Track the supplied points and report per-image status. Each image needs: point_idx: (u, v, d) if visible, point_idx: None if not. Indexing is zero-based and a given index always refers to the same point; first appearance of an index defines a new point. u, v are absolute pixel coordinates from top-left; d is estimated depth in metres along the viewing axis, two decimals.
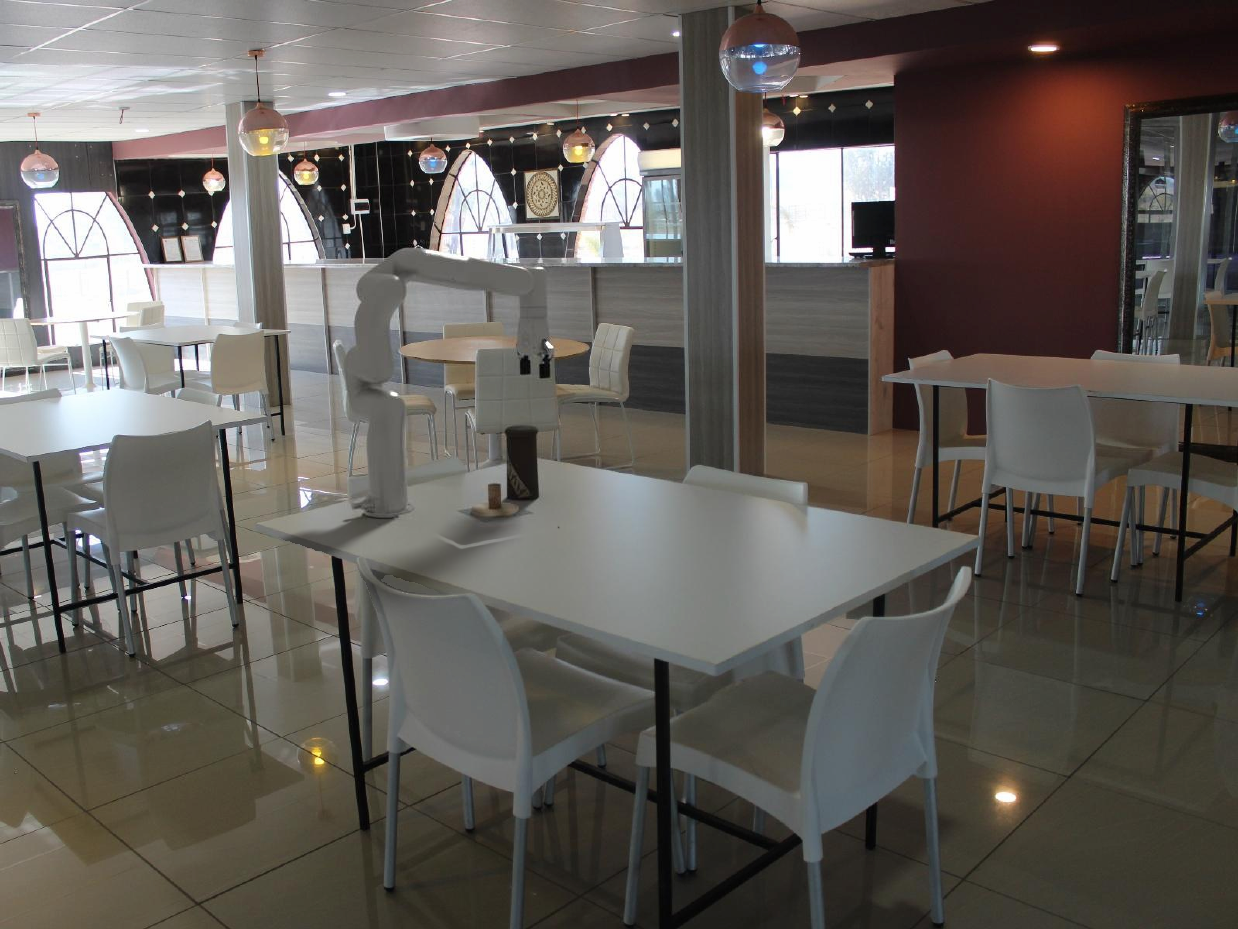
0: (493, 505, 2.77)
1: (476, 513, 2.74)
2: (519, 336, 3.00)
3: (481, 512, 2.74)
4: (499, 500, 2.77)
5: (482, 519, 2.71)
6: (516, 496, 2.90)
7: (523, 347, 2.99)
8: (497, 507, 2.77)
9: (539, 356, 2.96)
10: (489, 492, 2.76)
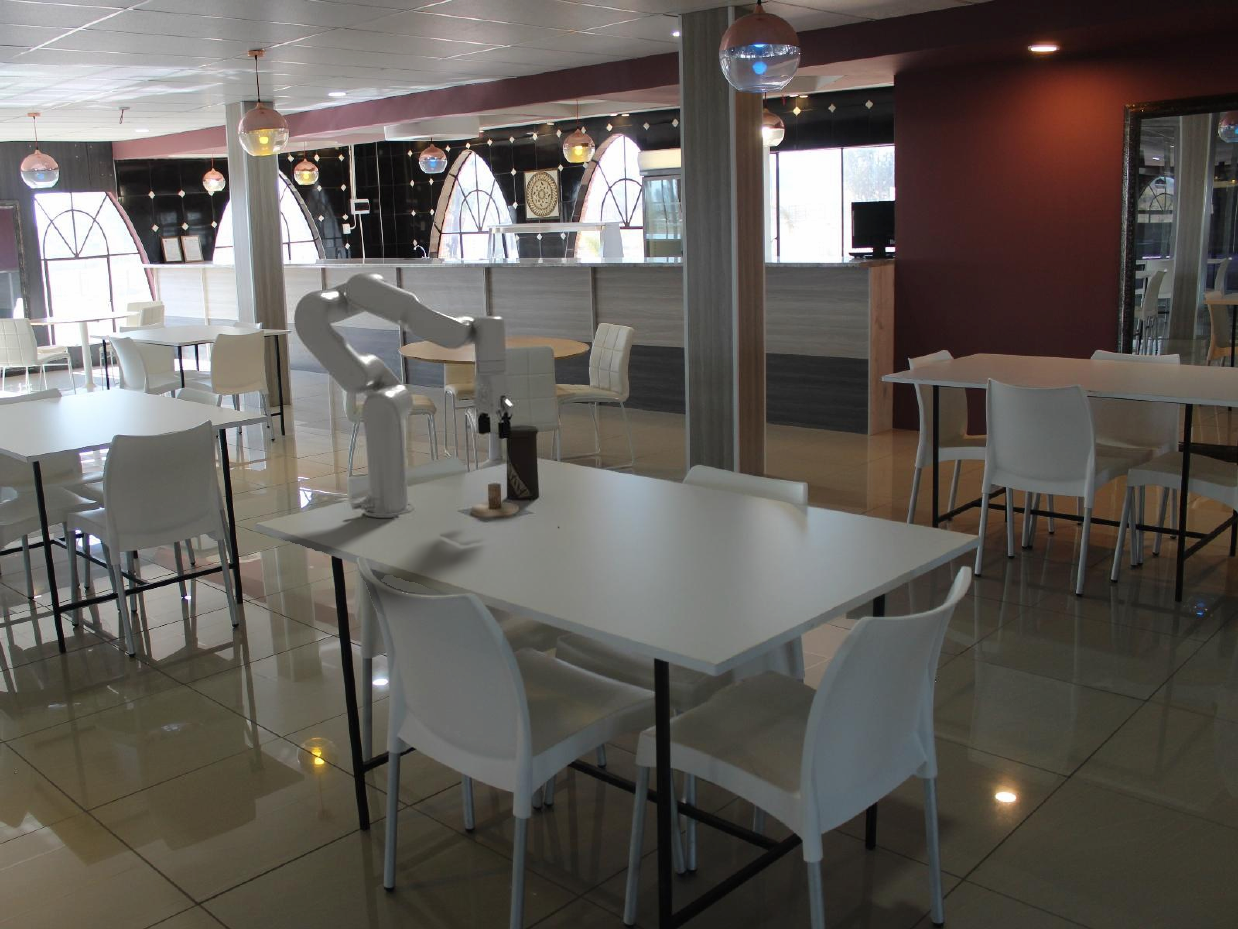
0: (493, 505, 2.77)
1: (476, 513, 2.74)
2: (476, 392, 2.73)
3: (481, 512, 2.74)
4: (499, 500, 2.77)
5: (482, 519, 2.71)
6: (516, 496, 2.90)
7: (481, 404, 2.72)
8: (497, 507, 2.77)
9: (498, 414, 2.69)
10: (489, 492, 2.76)
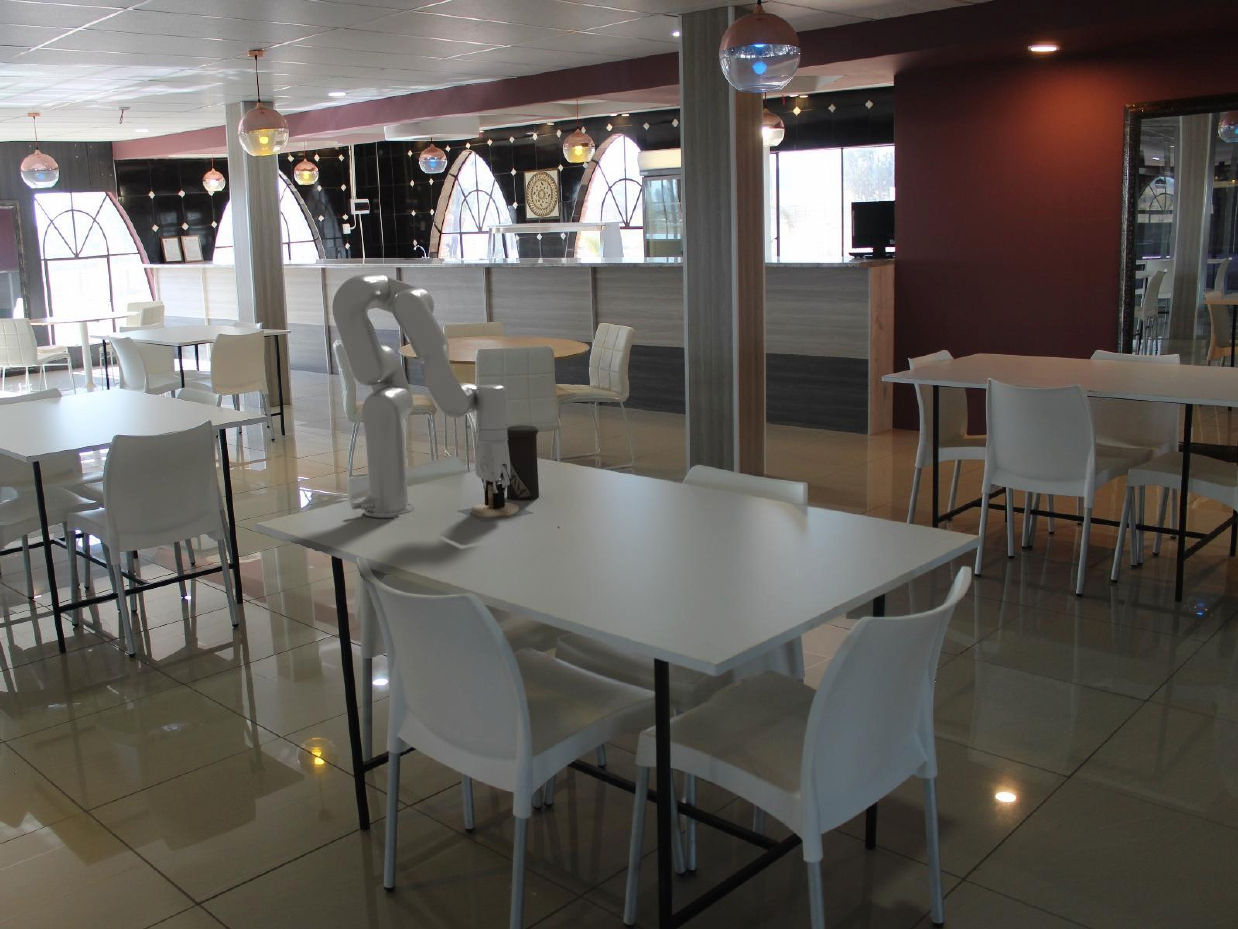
0: None
1: (476, 513, 2.74)
2: (477, 458, 2.77)
3: (481, 512, 2.74)
4: None
5: (482, 519, 2.71)
6: (516, 496, 2.90)
7: (481, 471, 2.75)
8: None
9: (494, 484, 2.74)
10: (489, 492, 2.76)
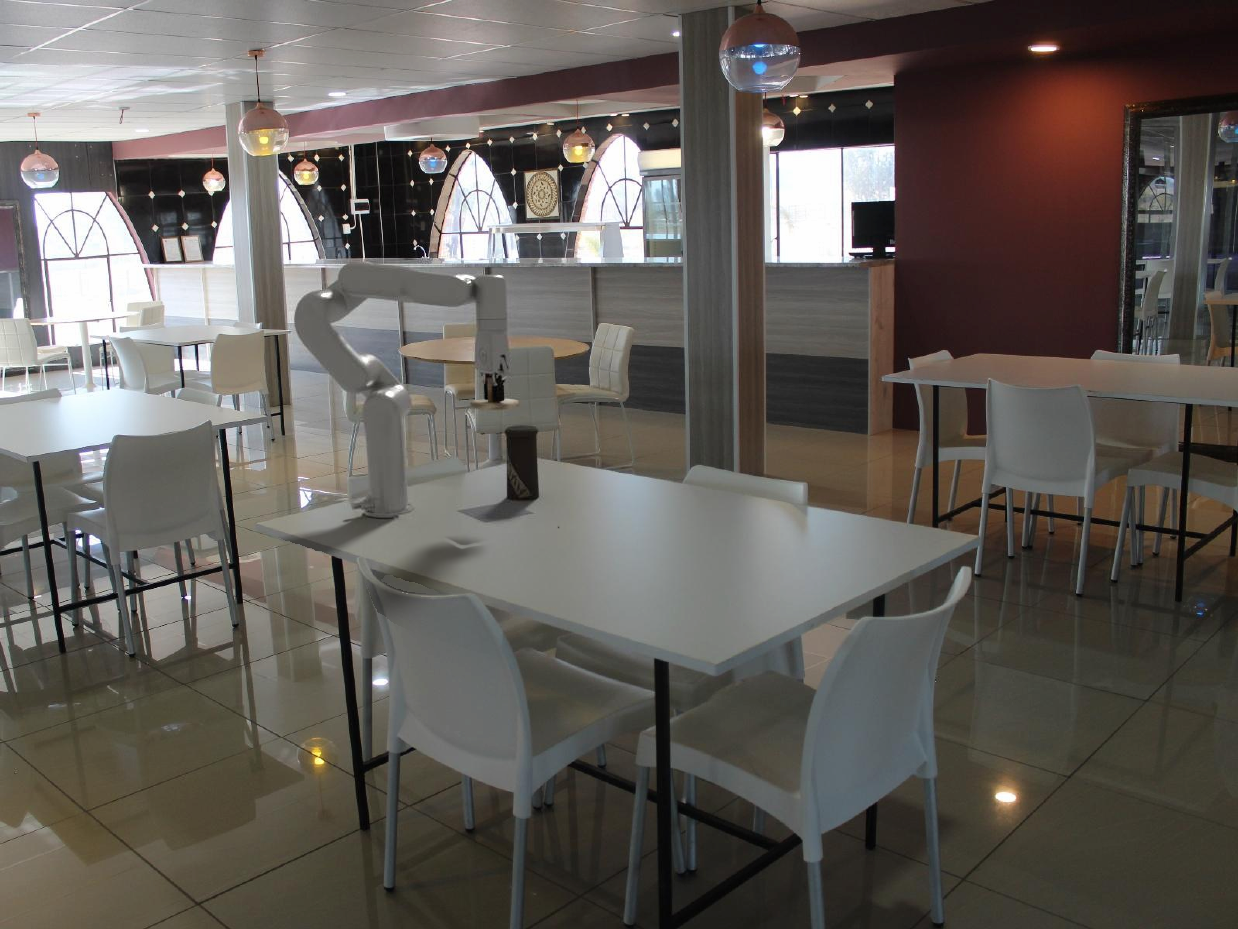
0: None
1: (475, 405, 2.70)
2: (476, 351, 2.72)
3: (480, 404, 2.70)
4: None
5: (482, 519, 2.71)
6: (516, 496, 2.90)
7: (480, 363, 2.71)
8: None
9: (493, 376, 2.70)
10: (488, 385, 2.72)
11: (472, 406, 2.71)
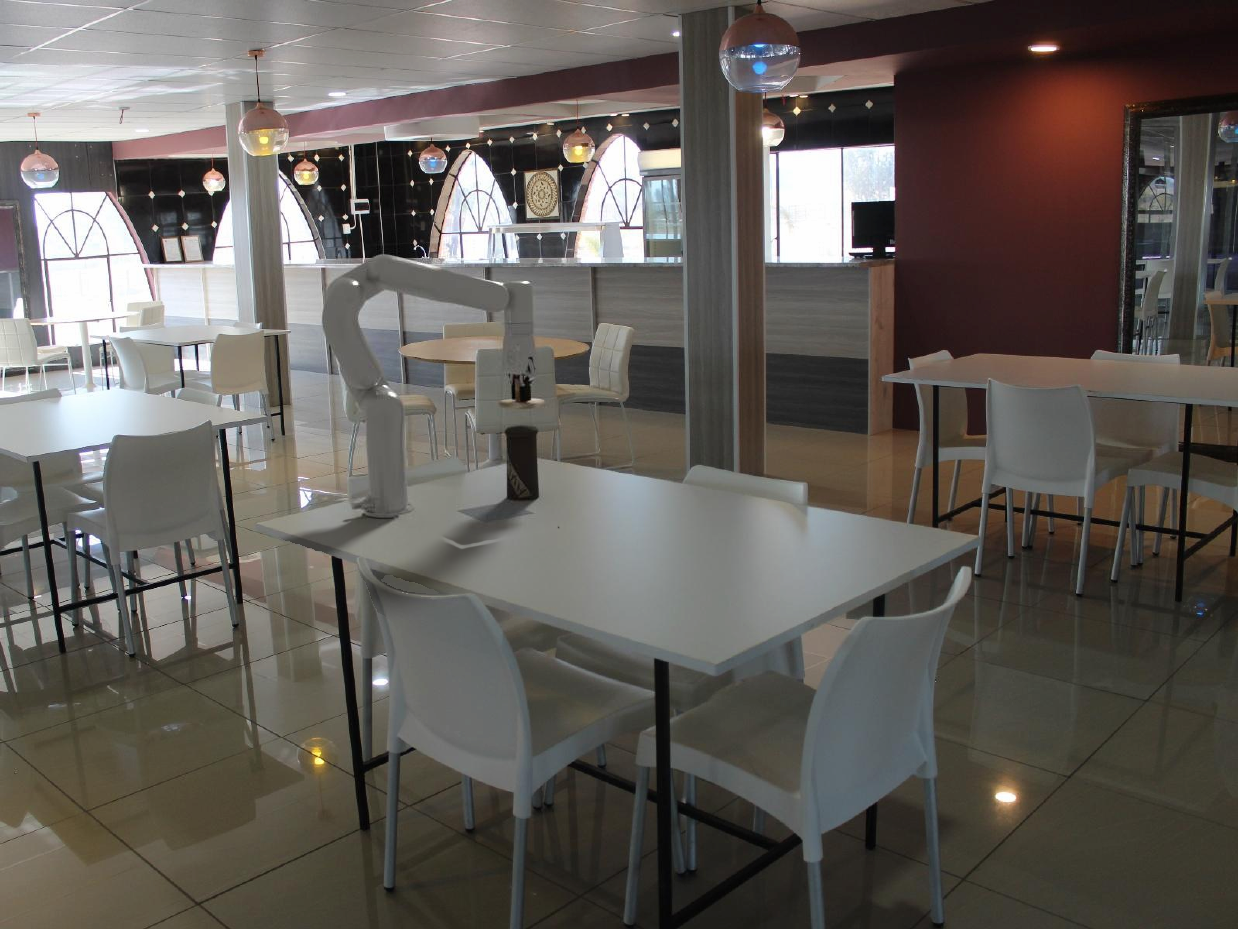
0: (519, 398, 2.87)
1: (504, 405, 2.84)
2: (504, 353, 2.87)
3: (509, 404, 2.84)
4: None
5: (482, 519, 2.71)
6: (516, 496, 2.90)
7: (508, 365, 2.86)
8: None
9: (521, 377, 2.84)
10: (516, 385, 2.87)
11: (501, 405, 2.86)
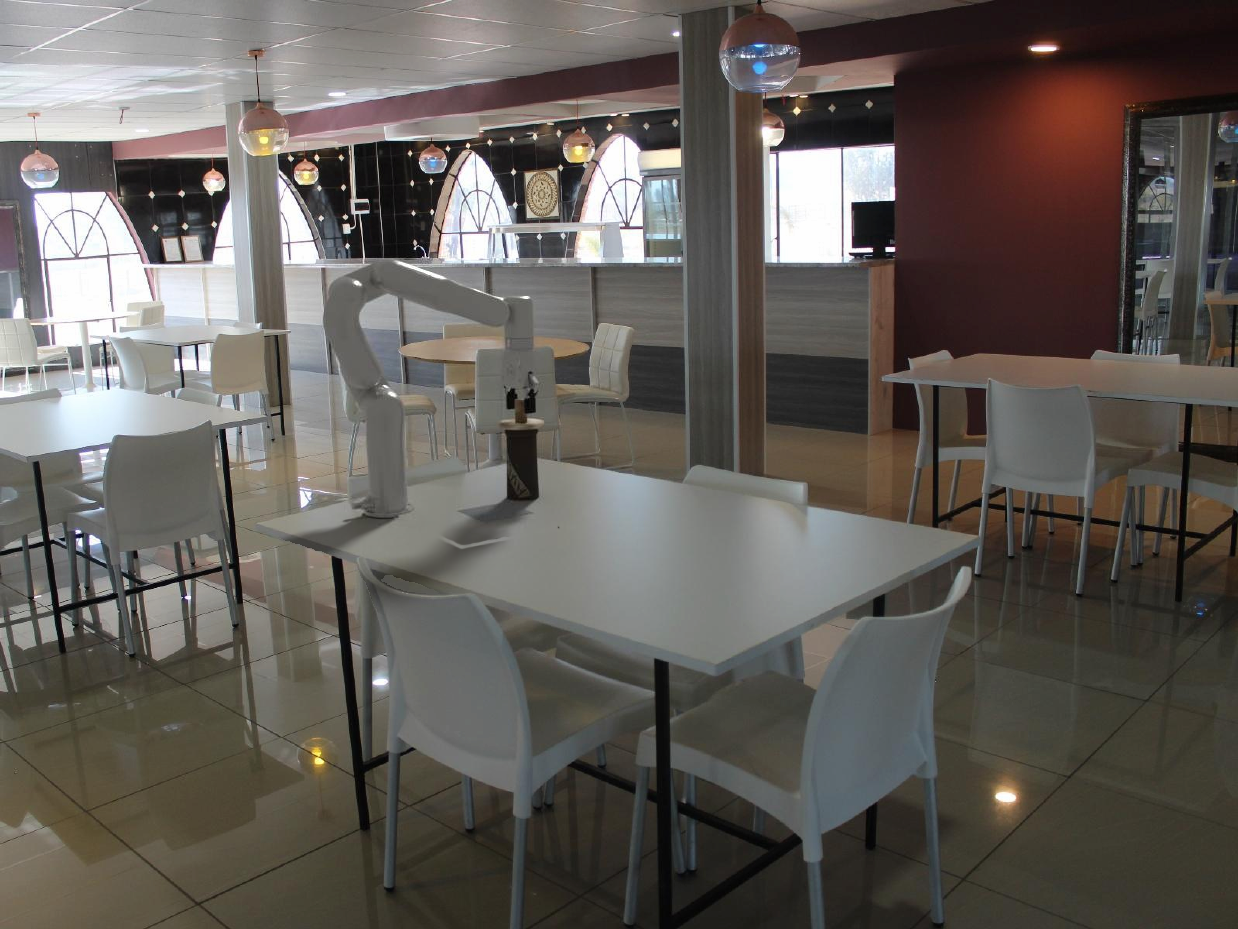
0: (519, 419, 2.88)
1: (504, 426, 2.85)
2: (504, 368, 2.88)
3: (508, 425, 2.85)
4: (525, 414, 2.88)
5: (482, 519, 2.71)
6: (516, 496, 2.90)
7: (508, 379, 2.86)
8: (523, 421, 2.88)
9: (524, 390, 2.84)
10: (516, 406, 2.88)
11: (500, 426, 2.87)
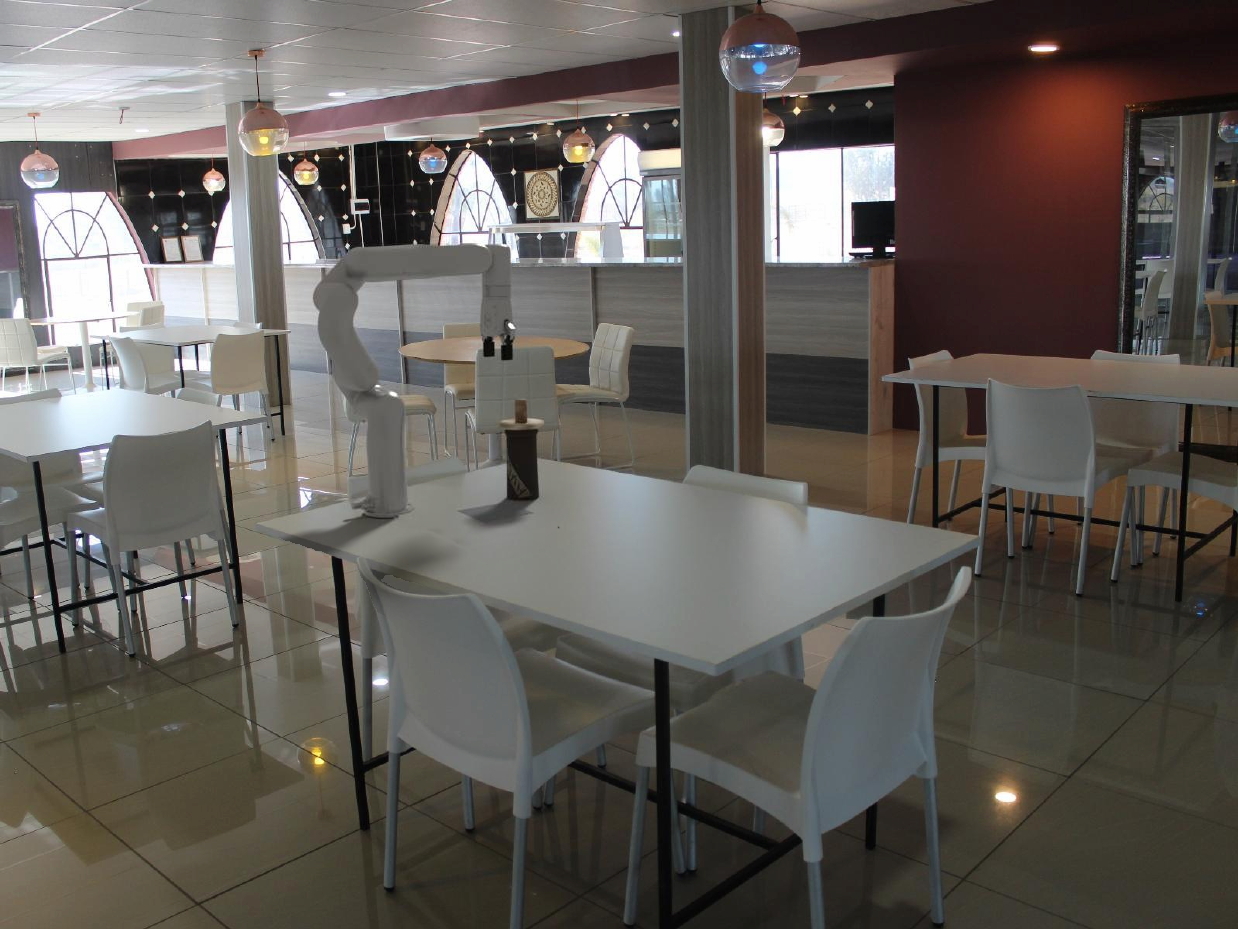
0: (519, 419, 2.88)
1: (504, 426, 2.85)
2: (482, 316, 2.88)
3: (508, 425, 2.85)
4: (525, 414, 2.88)
5: (482, 519, 2.71)
6: (516, 496, 2.90)
7: (485, 328, 2.87)
8: (523, 421, 2.88)
9: (501, 337, 2.84)
10: (516, 406, 2.88)
11: (500, 426, 2.87)
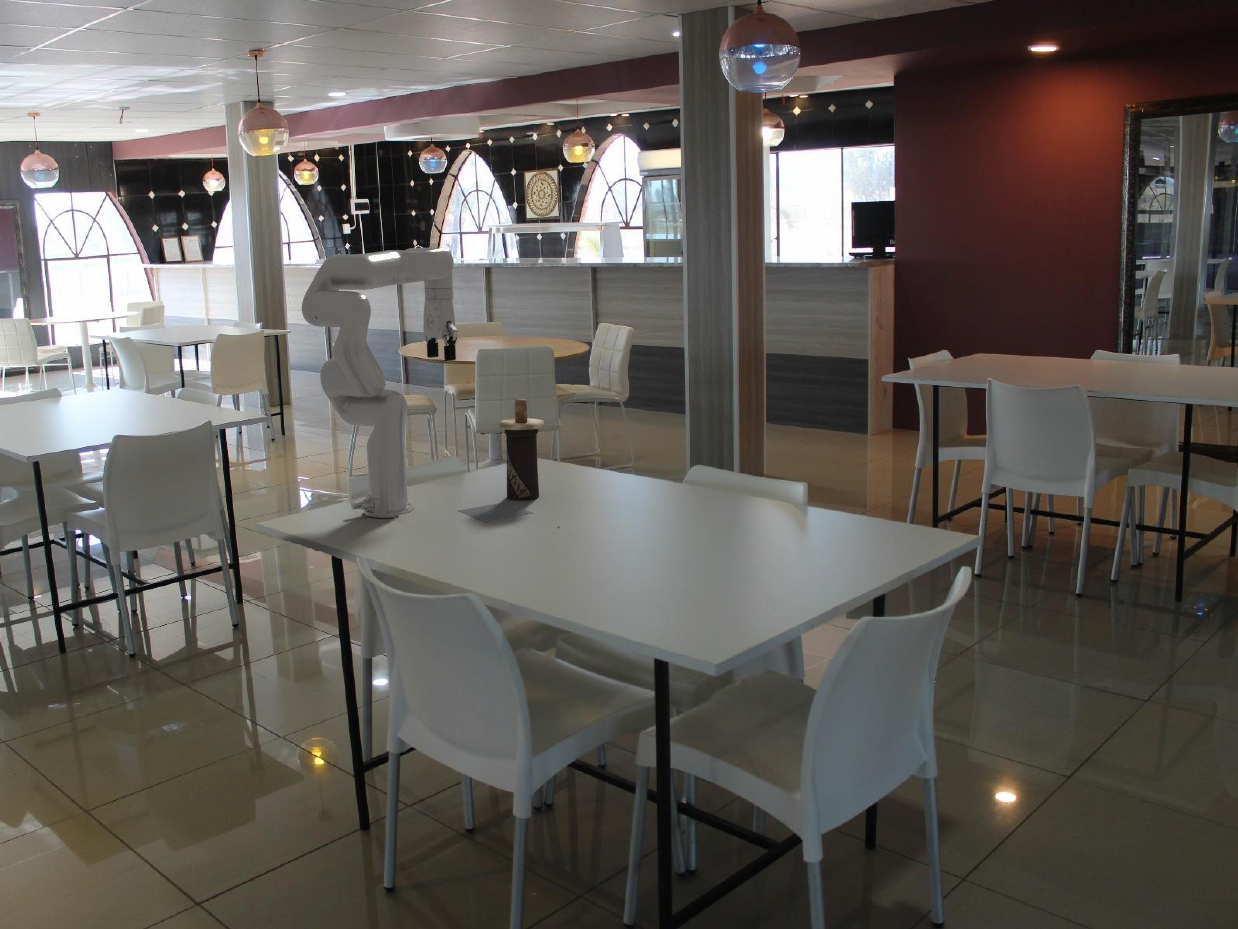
0: (519, 419, 2.88)
1: (504, 426, 2.85)
2: (425, 318, 2.98)
3: (508, 425, 2.85)
4: (525, 414, 2.88)
5: (482, 519, 2.71)
6: (516, 496, 2.90)
7: (429, 329, 2.97)
8: (523, 421, 2.88)
9: (444, 338, 2.94)
10: (516, 406, 2.88)
11: (500, 426, 2.87)
